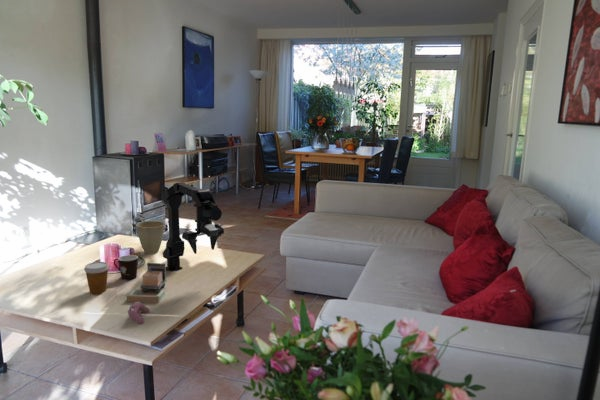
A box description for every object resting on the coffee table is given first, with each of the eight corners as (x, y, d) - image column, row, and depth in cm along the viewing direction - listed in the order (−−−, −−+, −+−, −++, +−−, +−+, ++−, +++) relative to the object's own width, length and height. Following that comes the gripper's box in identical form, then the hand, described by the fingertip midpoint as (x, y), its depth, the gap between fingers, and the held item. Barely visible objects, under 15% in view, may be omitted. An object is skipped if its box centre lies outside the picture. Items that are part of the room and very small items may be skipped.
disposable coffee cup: (98, 297, 181) (96, 270, 179) (80, 294, 184) (78, 266, 182) (115, 289, 190) (113, 263, 187) (98, 286, 193) (96, 260, 191)
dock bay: (135, 294, 185) (134, 287, 185) (165, 295, 185) (164, 288, 185) (126, 303, 177) (126, 296, 176) (158, 304, 176) (158, 297, 176)
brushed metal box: (148, 285, 194) (147, 262, 192) (166, 285, 194) (165, 263, 192) (140, 293, 185) (139, 269, 183) (159, 293, 185) (158, 270, 183)
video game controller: (140, 316, 169) (131, 301, 167) (151, 311, 169) (142, 296, 167) (133, 328, 159) (123, 312, 158) (144, 323, 159) (135, 307, 158)
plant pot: (132, 254, 237) (130, 226, 235) (145, 247, 252) (144, 220, 249) (157, 256, 235) (156, 228, 232) (170, 249, 250) (169, 221, 247)
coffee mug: (142, 278, 203) (141, 258, 201) (124, 283, 197) (123, 262, 195) (130, 272, 211) (129, 252, 209) (112, 276, 205) (111, 256, 203)
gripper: (195, 223, 182) (196, 259, 185) (231, 217, 195) (231, 250, 198) (180, 219, 190) (182, 254, 192) (216, 213, 203) (217, 246, 206)
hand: (204, 251), depth 197 cm, fingers open, 9 cm apart
